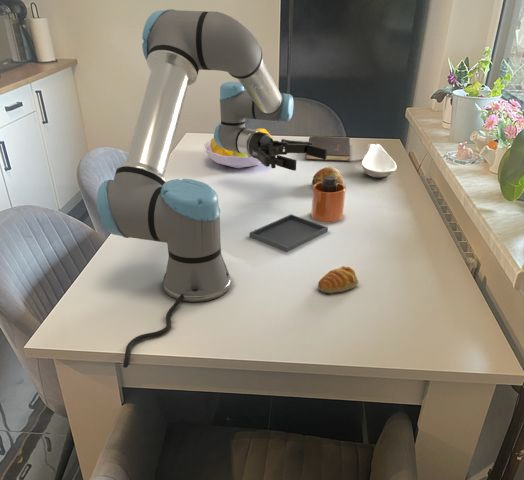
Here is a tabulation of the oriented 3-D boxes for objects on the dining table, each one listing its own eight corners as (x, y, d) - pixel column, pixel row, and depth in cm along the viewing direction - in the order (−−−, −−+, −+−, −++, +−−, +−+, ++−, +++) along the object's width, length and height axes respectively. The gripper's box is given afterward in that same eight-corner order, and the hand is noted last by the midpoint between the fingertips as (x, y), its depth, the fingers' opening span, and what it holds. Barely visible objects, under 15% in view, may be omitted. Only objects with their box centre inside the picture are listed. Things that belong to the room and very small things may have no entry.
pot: (329, 226, 152) (332, 195, 147) (304, 217, 157) (306, 187, 152) (348, 217, 158) (351, 186, 152) (323, 209, 162) (326, 179, 157)
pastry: (330, 299, 121) (332, 284, 119) (310, 287, 125) (311, 272, 123) (360, 286, 126) (361, 271, 123) (339, 275, 130) (340, 260, 127)
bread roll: (342, 201, 177) (353, 178, 173) (317, 192, 171) (329, 167, 168) (328, 191, 184) (339, 168, 181) (304, 181, 179) (315, 158, 175)
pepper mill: (328, 219, 154) (331, 181, 148) (316, 215, 157) (318, 177, 150) (337, 215, 157) (341, 177, 151) (325, 211, 159) (328, 174, 153)
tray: (286, 253, 139) (286, 247, 138) (249, 238, 146) (249, 232, 145) (327, 233, 149) (327, 227, 148) (290, 219, 156) (290, 214, 155)
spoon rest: (398, 181, 182) (401, 159, 178) (363, 181, 182) (365, 159, 177) (385, 159, 201) (387, 139, 196) (353, 159, 201) (355, 139, 196)
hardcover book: (349, 143, 216) (349, 137, 215) (349, 161, 198) (349, 155, 197) (309, 142, 218) (309, 136, 217) (305, 159, 200) (305, 153, 198)
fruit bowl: (273, 176, 186) (273, 142, 179) (196, 171, 189) (193, 137, 182) (283, 151, 208) (284, 120, 201) (214, 148, 211) (212, 117, 204)
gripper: (282, 148, 173) (336, 163, 162) (226, 166, 158) (281, 184, 147) (283, 123, 169) (338, 136, 157) (225, 140, 154) (282, 156, 142)
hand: (311, 159), depth 152 cm, fingers open, 13 cm apart
